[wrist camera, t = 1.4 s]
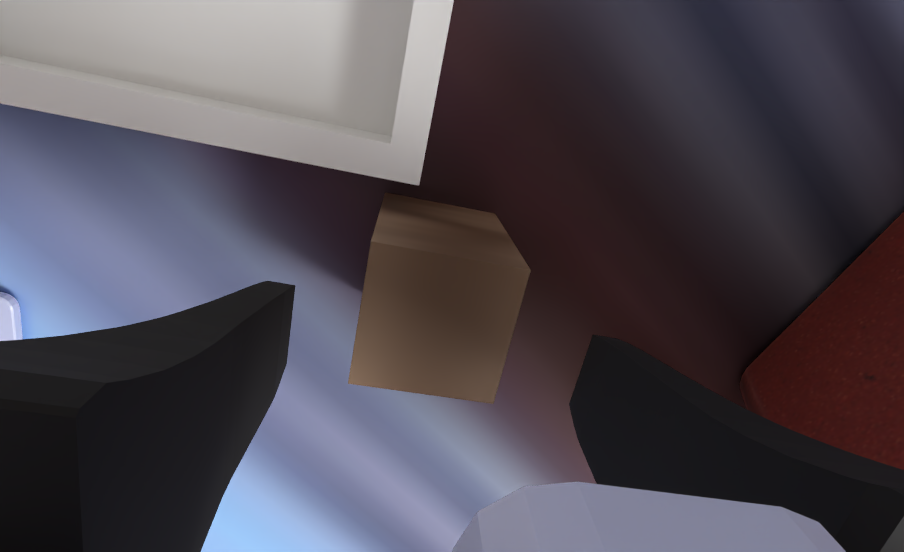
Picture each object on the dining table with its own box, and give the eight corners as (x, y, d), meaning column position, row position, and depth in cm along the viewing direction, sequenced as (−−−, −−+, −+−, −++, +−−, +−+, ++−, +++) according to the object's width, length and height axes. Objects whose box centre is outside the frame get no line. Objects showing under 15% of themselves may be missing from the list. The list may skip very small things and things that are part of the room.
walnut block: (368, 295, 19) (348, 383, 13) (385, 192, 17) (370, 241, 12) (470, 312, 19) (493, 403, 14) (495, 213, 18) (530, 269, 12)
